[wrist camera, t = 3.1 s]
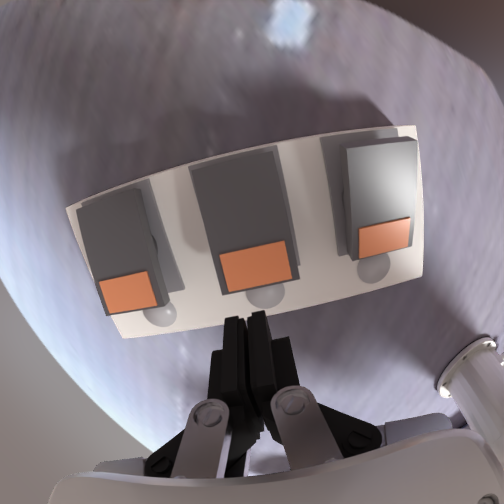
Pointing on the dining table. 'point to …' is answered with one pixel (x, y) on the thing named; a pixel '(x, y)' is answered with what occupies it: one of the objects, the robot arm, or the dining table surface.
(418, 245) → the rocker switch panel
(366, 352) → the dining table surface
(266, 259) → the middle rocker
